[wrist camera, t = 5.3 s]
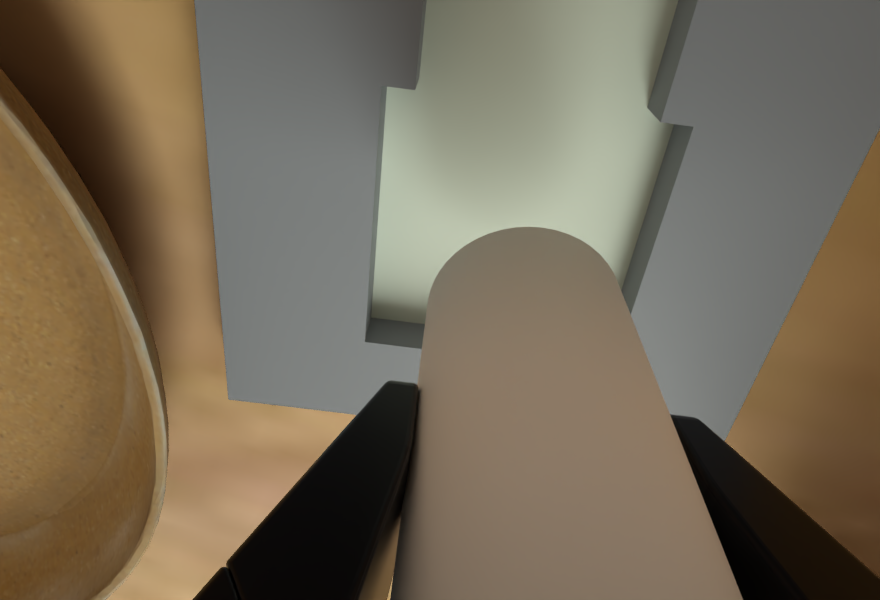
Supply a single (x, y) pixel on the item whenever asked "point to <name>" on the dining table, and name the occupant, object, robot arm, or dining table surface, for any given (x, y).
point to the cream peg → (546, 441)
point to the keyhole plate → (524, 171)
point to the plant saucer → (70, 381)
